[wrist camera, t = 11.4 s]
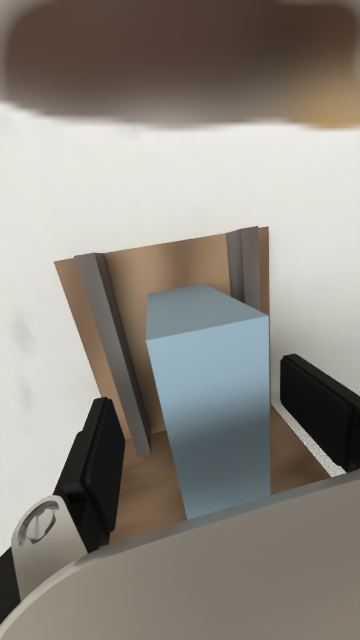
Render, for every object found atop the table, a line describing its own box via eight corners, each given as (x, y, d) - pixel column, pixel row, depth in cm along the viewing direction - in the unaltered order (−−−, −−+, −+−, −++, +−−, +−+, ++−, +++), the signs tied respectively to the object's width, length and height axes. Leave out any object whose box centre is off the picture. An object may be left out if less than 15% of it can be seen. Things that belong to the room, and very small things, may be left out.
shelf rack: (257, 229, 15) (547, 157, 4) (262, 401, 20) (395, 571, 9) (63, 260, 14) (-269, 280, 3) (122, 435, 19) (86, 681, 8)
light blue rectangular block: (203, 283, 14) (268, 315, 6) (217, 398, 17) (270, 509, 10) (147, 293, 14) (145, 340, 6) (171, 409, 17) (190, 533, 9)
